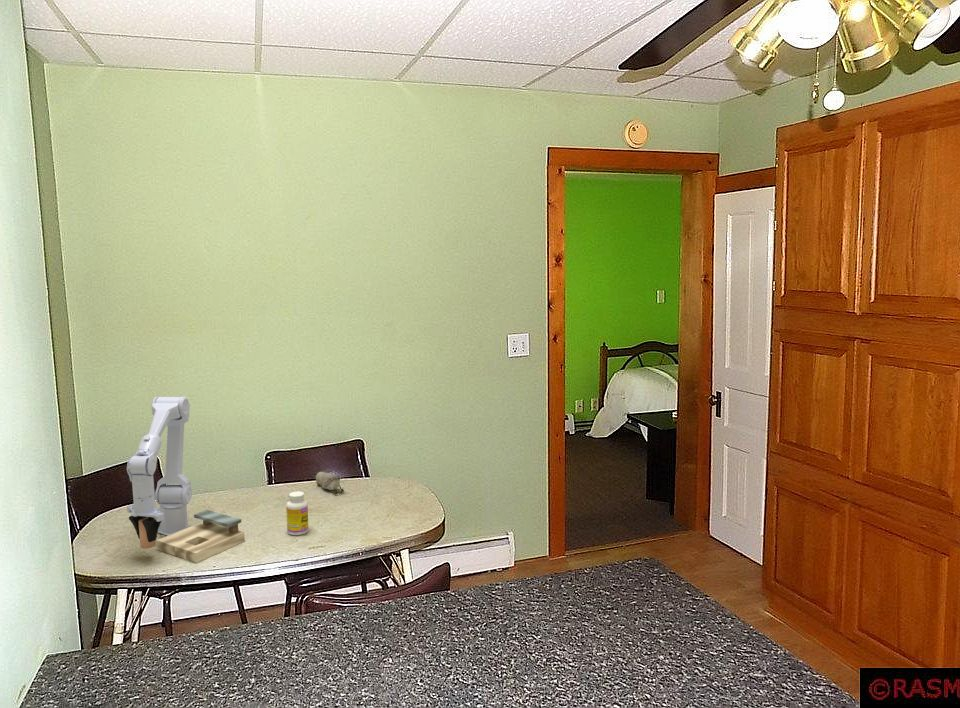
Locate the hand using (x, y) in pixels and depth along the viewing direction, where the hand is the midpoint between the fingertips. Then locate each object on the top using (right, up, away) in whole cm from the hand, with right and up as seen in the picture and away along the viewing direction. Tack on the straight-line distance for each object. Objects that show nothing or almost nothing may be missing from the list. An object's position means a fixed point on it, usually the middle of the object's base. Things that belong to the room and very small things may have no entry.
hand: (147, 539), depth 218 cm
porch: (+12, -4, +10) cm, 16 cm away
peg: (0, -2, 0) cm, 2 cm away
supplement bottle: (+40, -3, +20) cm, 44 cm away
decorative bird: (+42, +3, +59) cm, 72 cm away
